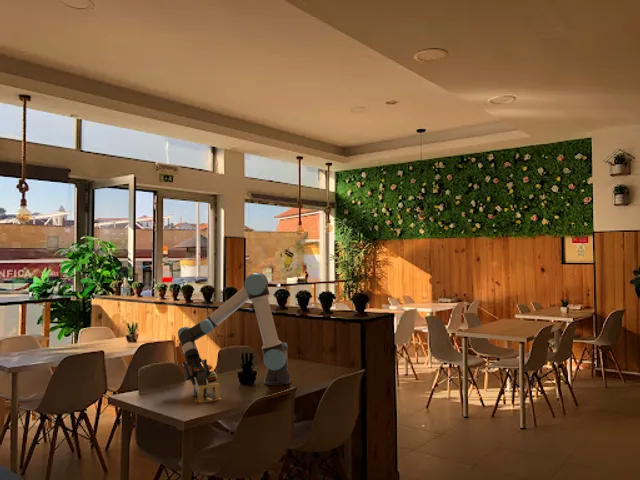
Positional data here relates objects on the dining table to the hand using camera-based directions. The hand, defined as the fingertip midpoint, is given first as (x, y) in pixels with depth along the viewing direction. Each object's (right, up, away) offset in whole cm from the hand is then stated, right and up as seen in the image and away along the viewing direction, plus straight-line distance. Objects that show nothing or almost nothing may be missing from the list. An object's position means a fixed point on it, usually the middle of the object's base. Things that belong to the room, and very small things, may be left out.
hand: (202, 388), depth 279 cm
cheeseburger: (-6, -7, +41) cm, 42 cm away
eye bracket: (+4, -4, -6) cm, 8 cm away
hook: (+2, -4, -4) cm, 6 cm away
